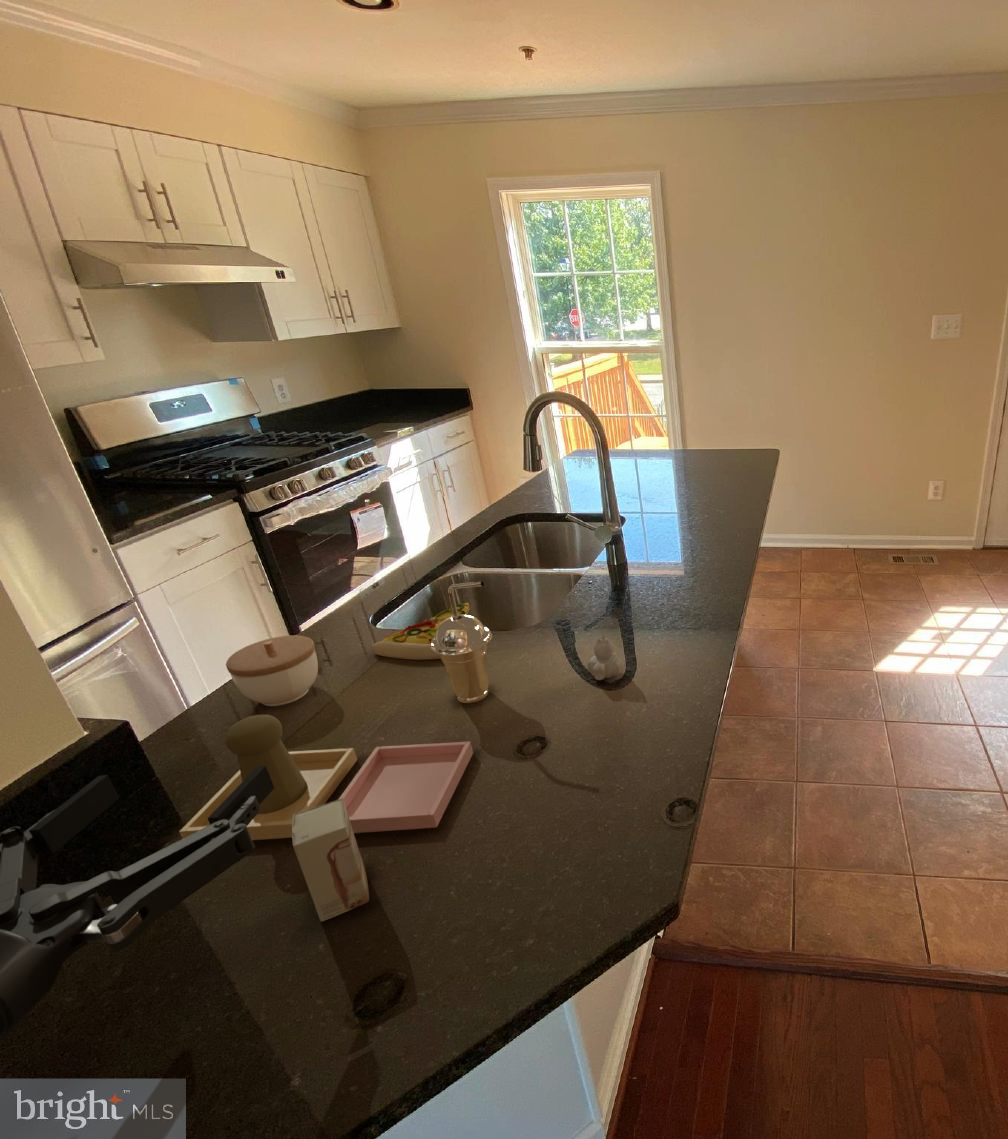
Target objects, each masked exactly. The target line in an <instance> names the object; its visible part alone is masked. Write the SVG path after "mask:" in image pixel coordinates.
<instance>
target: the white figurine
mask: <svg viewBox="0 0 1008 1139" xmlns="http://www.w3.org/2000/svg"><path fill="white" fill-rule="evenodd" d="M593 652H594V655H593V656H591V657H590V659H589V660H588V662H587V669H588V672H589V673H590V674H593V676H594V678H595V680H596V681H602V680H604V679H612V678H614V677H616V676H618V675H619V674H620V672H621V671H622V668H623V662H622V659H621V658H620V657H619V654H618V653H616V652H615V646H614V644H613V642H612V641H610V639H609V638H606V635H605V632H602V636H601V638H600V637H598V638H597V639H596V642H595V644H594V646H593Z"/></svg>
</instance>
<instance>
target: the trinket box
mask: <svg viewBox="0 0 1008 1139" xmlns="http://www.w3.org/2000/svg"><path fill="white" fill-rule="evenodd" d="M225 666H226V670H227V671H228V673H229V675H230V677H231V679H232V682H233V683H234V685H235V686H236V688H237V689H238V690H239V692H240V693H241V694H242V695H243V696H244V697H246V698H247V699H249V700H251V701H254V702H256V703H259V704H262V705H263V706H265V707H278V706H279V707H280V706H284V705H287V704H290V703H293V702H296V701H297V700H299V699H301V698H303V697H304V696H305V695H307V694H308V693H309V690H310V688H311V687H312V686H313V685H314V683H315V681H316V678H317V676H318V671H319V662H318V656H317V652H316V646H315V642H314V640H313V639H311V638H310V637H308V636H305V635H295V634H294V635H282V636H276V637H270V638H267V639H263V640H259V641H257V642H254V643H251V644H248V645H246V646H244V647H242V648H240V649H239V650H237V651H235V652H234V653H233V654H231V655H230V656H229V657H228V659H227V660H226V663H225Z"/></svg>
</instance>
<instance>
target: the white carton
mask: <svg viewBox="0 0 1008 1139" xmlns="http://www.w3.org/2000/svg"><path fill="white" fill-rule="evenodd" d="M338 799H339V798H338ZM338 799H336V800H333V801H329V802H326V803H325V804H323V805H320V806H317V807H314V808H311V809H308V810H305V811H302V812H299V813H296V814H294V815H293V823H292V837H291V838H292V847H293V850H294V853H295V856H296V858H297V861H298V863H299V867H300V869H301V872H302V874H303V878H304V880H305V883H306V885H307V888H308V891H309V894H310V897H311V899H312V903H313V905H314V908H315V910H316V914H317V916H318V919H319V922H325V921H327V920H330V919H333V918H336V917H337V916H340V915H342V914H345V913H346V912H349V911H351V910H354V909H357V908H358V907H361V906H363V905H365V904H367V903H369V901H370V892H369V891H370V890H369V883H368V877H367V871H366V868H365V865H364V862H363V859H362V856H361V852H360V849H359V846H358V843H357V839H356V837H355V833H353V830H352V826H351V823H350V820H349V817H348V814H347V810H346V807H345V804H344V800H343V799H339V800H338Z"/></svg>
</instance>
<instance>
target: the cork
mask: <svg viewBox="0 0 1008 1139" xmlns="http://www.w3.org/2000/svg"><path fill="white" fill-rule="evenodd" d="M282 736H283V725H282V723H281V722H280V720H279V719H278V718H277V717H275V716H273V715H270V714H256V715H255V714H254V715H251V716H248V717H247V716H246V717H245V718H243V719H240V720H239V721H237V722H235V723H234V724H232V725H231V726H230V727H229V728H228V730H227V731H226V733H225V745H226V747H227V749H228V750H229V751H230V752H231V753H232V754H233V755H236V756H237V760H238V766H239V770H240V772H241V778H242V782H243V781H244V780H245V779H246V778H247V777H248V775H249V774H250V773H251V772H252V771H253V770H254V769H255V768H256V767H257V766H266V767H267V770H268V772H269V775H270V777H271V780H272V783H273V785H274V789H273V790H272V792H271V793H270V794H269V795H268V796H267V797H266V798H265V799H264V801H263V802H262V803H261V804H260V805H259V806H260V811H259V813H258V814H267V813H271V812H275V811H278V810H281V809H283V808H285V807H287V806H289V805H291V804H293V803H294V802H296V801H297V800H298V799H300V798H301V797H302V795H303V794H304V793H305V792H306V789H307V783H306V781H305V779H304V778H303V776H302V774H301V773H300V771H299V769H298V768H297V766H296V764H295V763H294V761H293V759H292V758H291V756H290V754H289V753H288V752H289V751H288V749H287V748H286V746H285V744H284V742H283V741H282V739H281V738H282Z"/></svg>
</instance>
